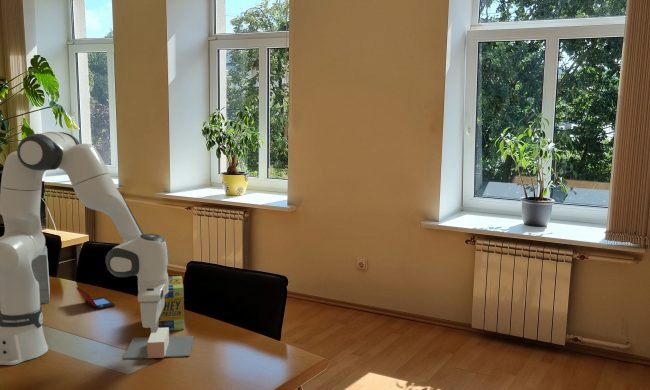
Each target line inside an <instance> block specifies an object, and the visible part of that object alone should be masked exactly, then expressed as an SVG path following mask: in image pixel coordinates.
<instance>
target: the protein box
mask: <svg viewBox="0 0 650 390" xmlns="http://www.w3.org/2000/svg"><path fill="white" fill-rule="evenodd" d="M183 282H184V281H183V276H180V275H179V276H178V275H177V276H168V287H169V292H168V293H167V294H165V295H164V296H165V297H164V299H165V304H164V307H163V310H162V312H161V314H160V317H159V322H158V328H167V327H169V332H171V331H183V330H182V329H184V330H185V303H184V302H185V298H184V297H185V295H184V294H185V293H184V291H185V289H184V283H183Z"/></svg>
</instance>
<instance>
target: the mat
mask: <svg viewBox="0 0 650 390" xmlns="http://www.w3.org/2000/svg"><path fill="white" fill-rule="evenodd" d="M149 337H150V336H148V337H132V339H131V340H130V343H129V345H128V348H127V349H126V351H125V353H124V356H123V360H139V359H142V358H145V359H149V358H148V349H147V342H148V340H149ZM194 338H195V335H184V336H183V335H182V336H181V335H179V336H177V335H176V336H169V344H168V347H167V351H166V354H165V357H171V358H181V357H180V356H190V355H191V352H192V348H191V347H193V343H194ZM190 357H191V356H190Z"/></svg>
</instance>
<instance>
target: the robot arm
mask: <svg viewBox="0 0 650 390" xmlns="http://www.w3.org/2000/svg"><path fill="white" fill-rule="evenodd" d="M57 169H60V170H62V171H63V172H65V173H66V175H67V177H68V178H69V181H70V184H71V186H72V189H73V190H74V193H75V195H76V197H77V199H78V200H79V202H80V203H81V204H82V205H83V206H84V207H86V208H88V209H90V210H93V211H98V212H101V213H104V214H105V215H107V216H108V217H109V218H110V219H111V220H112V222H113V223H114V225H115V227H116V229H117V231H118V233H119V235H120V237H121V239H122V240H123V242H122V243H121V244H118V245H116V246H114V247H112V249H110V250H109V251H108V252H107V253H106V255H105V265H106V268H107V270H108V272H109V273H110V274H112V276H115V277H117V278H128V277H134V276H137V292H138V293H137V302H139V310H140V319H141V320H140V321H141V325H142V328H144V329H150V334H151V333H156V332H157V330H158V322H159V317H160V314H161V312H162V310H163V307H164V304H165V299H164V297H165V296H164V295H165V294H167V293H168V292H169V287H168V277H169V274H168V264H169V260H168V259H169V257H168V256H169V255H168V246H167V242H166V239H165V238H164V237H162V236H161V235H159V234H157V233H144V232H143V230H142V228H141V227H140V225H139V223H138V221H137V219H136V218H135V215H134V214H133V212H132V209H131V208H130V205H129V204H128V202H127V201H126V199H125V198H124V196H123V195H122V194H121V192H120V191H119V190H118V188H117V186H116V184H115V182H114V180H113V178H112V176H111V174H110V172H109V169H108V168H107V165H106V163H105V161H104V160H103V158H102V156H101V155H100V153H99V151H98V150H97V148H95V146H93V145H92V144H88V143H80V142H79V140H78V139H77V138H76V137H75V136H73V135H72V134H70V133H68V132H63V131H62V132H61V131H57V132H56V131H46V132H42V133H32V134H29V135H27V136H25V137H23V139H22V140H21V141H20V142H19V143H18V146H17V149H16V151H12V152H10V153H9V154H8V155H7V157H6V158H5V162H4V165H3V169H2V173H1V181H0V216H2V220H3V224H4V233H3V235H2V236H0V365H1V366H2V365H4V366H15V365H18V364H21V363H22V362H25V361H29V360H34V359H36V358H39V357H41V356H43V355H44V354H46V353H47V352H48V351H49V345H48V343H47V341H46V337H45V333H44V329H43V328H44V327H43V324H44V323H43V322H44V316H43V315H44V314H43V308H42V307H43V306H41V304H40V293H39V283H38V281H37V280H36V279H35V277H34V274H33V271H32V267H31V263H32V260H34V259H35V258H37V257H38V256H39V255H40V254H41V252H42V251H43V249H44V246H46V237H45V235H44V233H43V227H42V221H41V220H42V219H41V201H42V188H43V187H42V186H43V176H44V174H45V172H46V171H53V170H57Z"/></svg>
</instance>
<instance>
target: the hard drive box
mask: <svg viewBox="0 0 650 390" xmlns="http://www.w3.org/2000/svg"><path fill="white" fill-rule="evenodd" d="M31 267H32V271H33V274H34V277H35V279H36V280H37V281H38V283H39V293H40V305H43V304H49V303H50V298H51V297H50V295H51V293H50V292H51V289H50V275H49V274H50V273H49V260H48V248H47V245H45V246H44V249H43V251H42V252H41V254H40V255H39V256H38V257H37V258H35V259H34V260H32V263H31Z"/></svg>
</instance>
